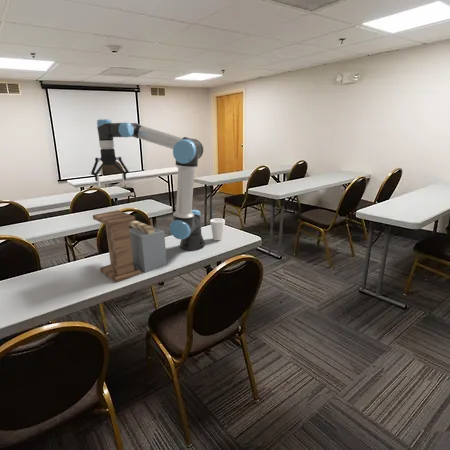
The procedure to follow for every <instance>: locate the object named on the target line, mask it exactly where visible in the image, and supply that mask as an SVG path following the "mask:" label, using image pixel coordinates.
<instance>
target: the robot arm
mask: <svg viewBox="0 0 450 450" xmlns="http://www.w3.org/2000/svg"><path fill="white" fill-rule="evenodd" d="M96 126H97V127H96V129H97V133H98V143H99V148H100V149H99V152H100V157H95V158H94V161H95V162H94V165H93V167H92V169H91V172H90V174H91V175H92V176H94V179H95V182H97V186H98V188H101V182H100V174H99V173H100V172H101V170H102V169H103V168H104V166H115V168H117V170H119V171H120V172H121V173H122V174H121V178H122V186H123V187H124V186H125V185H126V184H125V183H126V182H125V180H127V174H129V172H130V171H129V170H128V168H127V166H126V165H125V163H124V161H123V159H122V156H118V157H116V150H115V143H114V138H136V139H138V140H141V141H142V140H143V141H146V142H149V143H151V144H155V145H159V146H161V147H165V148H167V149H171V150H172V154H173V158H174V159H175V166H176V168H177V183H176V184H177V187H176V206H175V207H176V208H175V211H174V212H173V214H172V221H171V223H170V225H169V232H170V234H171V235H172V237H174V238H175V239H177V240H180V243H179V246H180V249H182V250H185V251H197V250H201V249H203V248H205V246H206V245H205V244H206V243H205V239H204V237H203V233H202V213H201V210H199V209H192V208H193V197H194V195H193V193H194V182H195V181H194V179H195V169H196V168H197V167H198V164H199V159H201V158H202V156H203V153H204V146H203V144H202V142H201V141H200V140H198V139H197V138H190V137H187V136H183V137H180V136H177V135H174V134H170V133H167V132H164V131H160V130H157V129H154V128H151V127H148V126H144V125H141V124H140V123H136V122H112V120H111V119H109V118H107V119H106V118H105V119H103V118H102V119H101V118H100V119H99V118H98V119H97V120H96ZM100 161H101V162H102V164H100V166H99V167H98V168H97V166H98V164H99V163H100ZM116 161H118V162H119V163H120V165H121V166H120V165H119V164H118V163H117V162H116ZM96 169H97V170H96ZM95 171H96V172H95Z"/></svg>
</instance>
